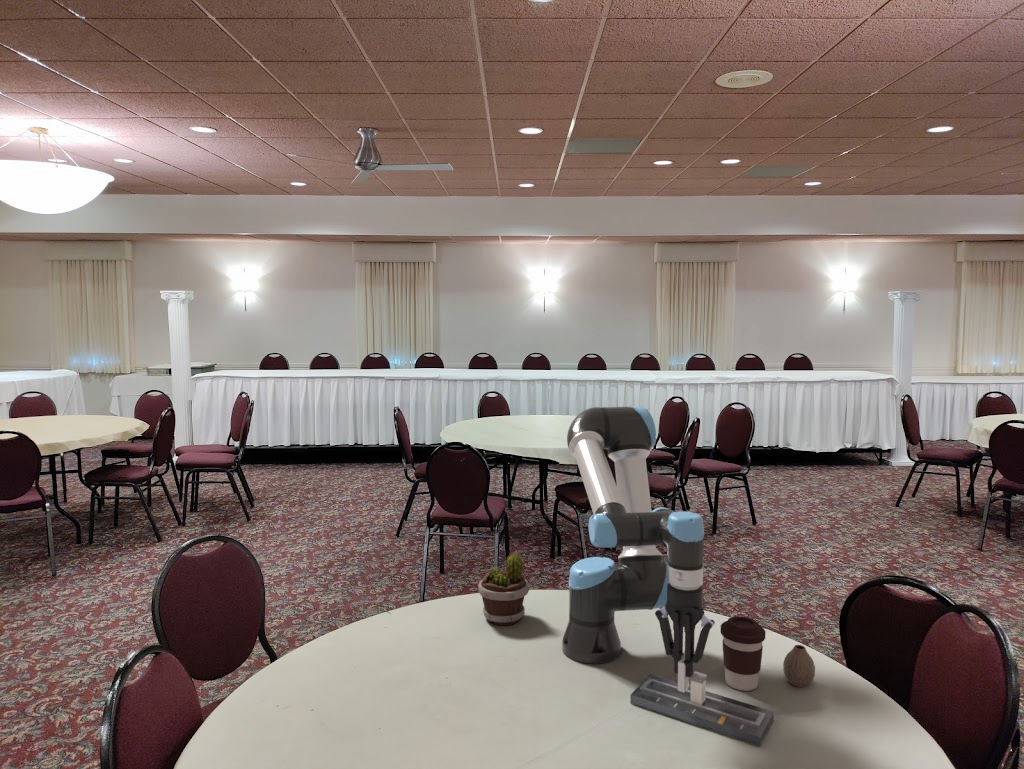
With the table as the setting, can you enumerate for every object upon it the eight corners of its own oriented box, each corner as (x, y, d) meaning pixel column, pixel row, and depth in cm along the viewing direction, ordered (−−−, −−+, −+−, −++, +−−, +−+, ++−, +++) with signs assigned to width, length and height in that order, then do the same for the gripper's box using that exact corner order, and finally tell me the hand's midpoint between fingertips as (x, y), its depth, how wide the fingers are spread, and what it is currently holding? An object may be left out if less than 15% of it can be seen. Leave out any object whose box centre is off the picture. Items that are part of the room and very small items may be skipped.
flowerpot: (483, 632, 186) (482, 561, 184) (474, 609, 201) (474, 544, 199) (534, 627, 189) (534, 557, 187) (522, 605, 204) (522, 541, 202)
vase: (817, 692, 155) (819, 655, 154) (785, 688, 156) (787, 652, 156) (810, 677, 162) (812, 641, 161) (780, 674, 163) (781, 639, 162)
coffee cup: (763, 676, 162) (765, 616, 161) (764, 698, 152) (766, 633, 151) (720, 670, 165) (721, 610, 164) (718, 690, 156) (720, 627, 155)
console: (630, 703, 150) (630, 692, 150) (650, 682, 160) (650, 671, 159) (759, 747, 135) (760, 734, 134) (773, 720, 144) (774, 708, 143)
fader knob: (689, 702, 147) (689, 677, 146) (694, 695, 149) (694, 671, 149) (701, 706, 145) (702, 681, 145) (706, 699, 148) (707, 674, 147)
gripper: (649, 583, 148) (648, 687, 149) (708, 596, 140) (706, 705, 142) (663, 573, 154) (661, 673, 155) (720, 585, 146) (718, 690, 148)
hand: (683, 688), depth 149 cm, fingers closed
